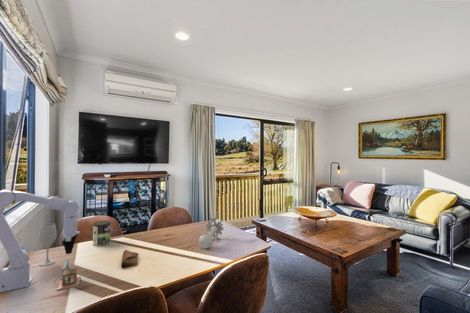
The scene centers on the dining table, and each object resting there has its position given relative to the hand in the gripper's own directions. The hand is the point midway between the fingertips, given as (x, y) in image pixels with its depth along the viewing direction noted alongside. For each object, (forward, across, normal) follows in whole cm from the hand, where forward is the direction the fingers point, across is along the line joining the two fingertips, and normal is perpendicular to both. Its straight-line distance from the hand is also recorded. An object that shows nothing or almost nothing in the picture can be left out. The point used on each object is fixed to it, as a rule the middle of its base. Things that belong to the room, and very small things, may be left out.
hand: (69, 250), depth 115 cm
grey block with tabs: (+10, -3, +1) cm, 11 cm away
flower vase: (+11, -1, -80) cm, 80 cm away
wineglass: (+10, +16, +12) cm, 23 cm away
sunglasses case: (+11, -2, -28) cm, 30 cm away
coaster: (+10, -14, -1) cm, 18 cm away
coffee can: (+11, +35, -14) cm, 39 cm away
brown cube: (+10, -14, -2) cm, 17 cm away
